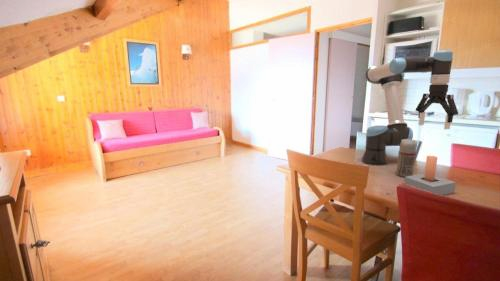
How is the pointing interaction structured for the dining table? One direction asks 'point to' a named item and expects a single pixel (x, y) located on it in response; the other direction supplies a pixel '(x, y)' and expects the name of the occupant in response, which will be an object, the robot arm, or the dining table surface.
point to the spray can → (406, 157)
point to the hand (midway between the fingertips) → (433, 126)
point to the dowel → (430, 168)
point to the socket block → (431, 184)
